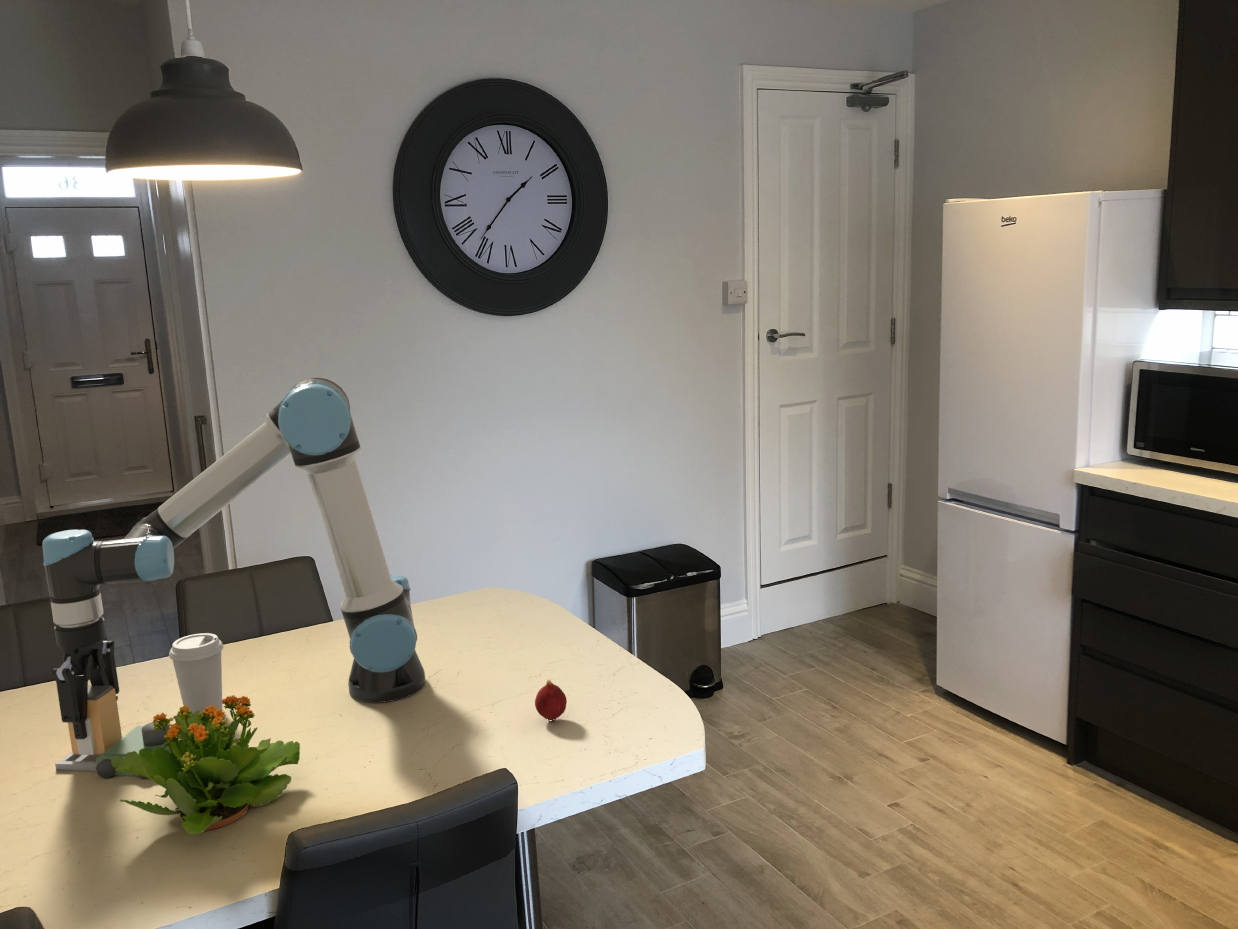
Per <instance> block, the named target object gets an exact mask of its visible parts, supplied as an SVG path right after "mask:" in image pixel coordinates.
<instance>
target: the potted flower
mask: <svg viewBox="0 0 1238 929" xmlns="http://www.w3.org/2000/svg"><path fill="white" fill-rule="evenodd" d="M251 703H252V702H251V698H249V697H248V696H244V695H242V696H241V697H237V696H235V695H230V696H229V695H228V696H226V697H225V698H222V705H223V707H224V709H228V710H229V714H230V716H231V718H232V721H231V722H230V724H229V725H228V723H227V719H224V718H225V711H223V709H222V710H219V709H218V707H216V708H215V707H214V706H208V707H206V708H204V709H205V710H203V711H202V712H200V711H196V712H194V714H193V713H192V710H190V711H189V712H188V710H189V709H190V708H189V707H188V706H187V705H184V707H183V706H180V707H179V708H178V709H179V710H178V711H177V713H176V715H174V716H173V717H170V718H167V715H168V714H165V713H164V712H161V714H155V715H154V716H153V717H152V718H153V720H152V722H153V725H154V727H153V728H154V730H158V729H161V730H163V732H164V734H165V736H164V738H166V740H167V742H165V743H164V744H165V745H164V746H167V747H168V748H169V751H168V750H165V748H162V747H156V748H155V750H154V752H153V751H152V749H150V748H149V749H147V748H143V749H140V750H139V754H138V753H137V752H136V751H133V752H128V753H127V754H125V755H124V756H125V757H124V758H123V757H121V756H118V755H116V756H115V758H113V759H112V760H111V764H112V766H113V768H116V767H117V770H116V769H115V770H116V772H125V773H133V774H137V775H141V776H144V777H147V778H148V779H150V780H151V781H153V782H154V783H155V784H156V785H158V786H160V787H162V788H164V789H165V791H164V794H162V795H161V794H160V795H159V794H155V796H158V797H160V798H163V799H165V798H167V797H169V798H170V800H171V801H172V802H173V804H174V805H175V806H176V807H175V809H174V810H172V809H170V808H169V807H167V806H164V807H163V806H162V805H159V804H158V803H155V804H153V803H152V802H151V801H147V802H145V801H141V800H138V801H136V800H128V799H122V798H121V799H120V800H119V802H123V803H125V804H128V805H130V806H132V807H135V808H139V809H140V810H142V811H146V812H148V813H151V814H156V815H161V816H172V815H173V816H174V815H179V817H180V819H181V822H182V823H181V827H182V828H183V829H185V832H186V833H187V834H189V835H199V834H202V833H204V832H205V831H209V830H217V829H218V828H222V827H225V826H228V825H229V824H232V823H234V822H235V821H237V820H239V819H240V818H242V817H243V816H244V815H246V813H247V811H248V808H249V806H250V807H254V808H260V807H261V806H267V805H268V804H270V802H274V801H276V800H278V799H279V796H282V795H283V794H284V791H285V790H286V789H287V788H288V786H289V785H290V783H291V781H292V776H290V775H288V774H286V773H283V774H282V773H281V774H280V775H279V774H278V773H275V774H273V775H272V774H271V773H272V772H273V771H275V770H276V769H278V768H279V767H283V766H289V765H298V764H299V761H300V756H301V755H300V754H301V752H300V750H301V743H300V742H298V741H293V740H290V741H288V742H284V741H283V740H277V741H276V742H271V740H272V738H270V737H269V738H267V739H262V740H261V741H260V742H259V743H258V746H250V745H249V743H250V741H251V740H252V739H253V736H254V735H255V733H256V732H257V730H258V729H259V727H258V726H257V727H254V728H253V729H251V728H252V727H251V725H252V721H251V720H250V719H253V718H254V717H255V716H256V715H255V713H254V711H253V710H250V709H251V706H252V704H251ZM172 721H175V723H173V724H172V723H171V722H172ZM239 725H240V726H242V730H241V734H240V737H239V738H235V736H236V732H237V729H238V727H239ZM166 726H171V727H170V729H169V730H168V731H167V735H166V732H165V730H164V729H165V728H166ZM161 727H162V728H161ZM249 727H250V728H249ZM247 728H248V730H247ZM251 730H252V731H251ZM234 738H235V739H234ZM178 739H181V740H178ZM177 758H178V759H177Z"/></svg>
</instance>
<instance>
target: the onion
mask: <svg viewBox="0 0 1238 929" xmlns="http://www.w3.org/2000/svg"><path fill="white" fill-rule="evenodd" d="M567 702H568V701H567V695H566V694H565V693H564V691H563V690H562V689H561V688H560V686H558V685H557V684H554V683H553V682H552V681H551V679H547V680H546V684H545V685H544V686H542V687H541V688H540V689H539V690H538V692H537V693H536V697H535V699H534V706H535V710H536V711H537V713H538V715H540V716H541V717H542V718H544V720H545V719H546V720H547V719H548V720H547V721H549V720H553V719H555V720H556V718H557V719H559V718H560V717H561V716H562V715H563V714H564V713H565V711H566V709H567Z"/></svg>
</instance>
